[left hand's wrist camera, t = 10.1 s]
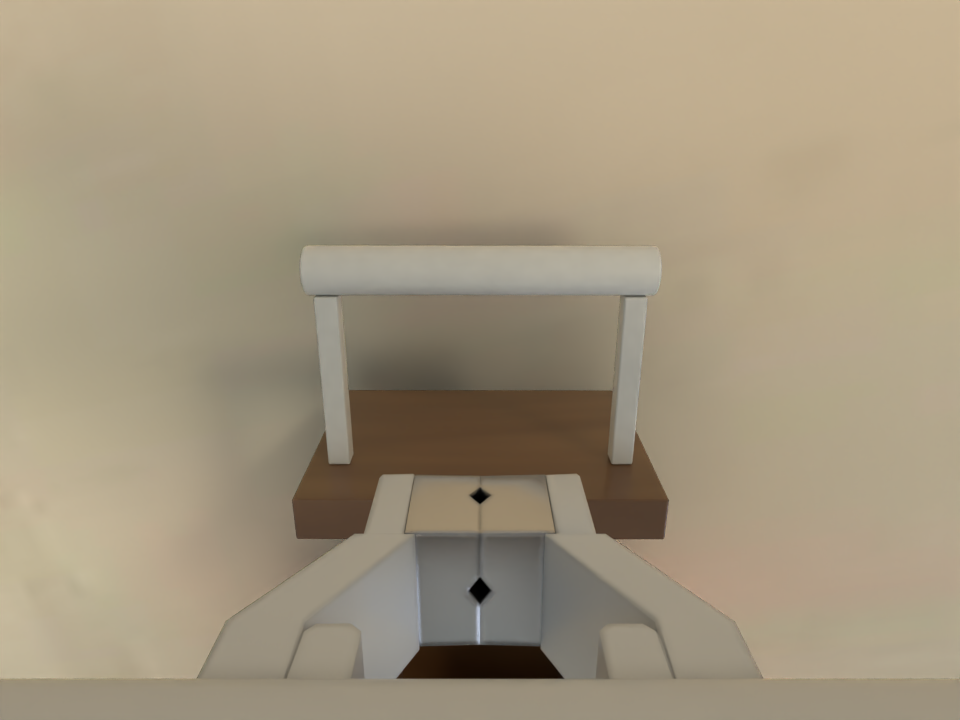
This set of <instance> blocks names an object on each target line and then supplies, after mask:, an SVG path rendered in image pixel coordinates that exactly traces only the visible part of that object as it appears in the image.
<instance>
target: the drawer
mask: <svg viewBox="0 0 960 720" xmlns="http://www.w3.org/2000/svg"><path fill="white" fill-rule="evenodd" d="M661 275H662V260H661V254H660V251H659V249H658V247H656V246H440V245H307V246H305V247H303V249H302V252H301V256H300V279H301V284H302V288H303V290H304V292H305V294H307V295H316V296H315V297H314V310H315V321H316V332H317V343H318V353H319V364H320V375H321V386H322V397H323V407H324V418H325V429H326V430H325V432H324V434H323V436H322V438H321V441H320V443H319V445H318V447H317V449H316V451H315V453H314V455H313V457H312V459H311V462H310V464H309V466H308V468H307V470H306V472H305V474H304V476H303V478H302V480H301V483H300V485H299V487H298V489H297V491H296V493H295V495H294V497H293V499H292V503H293V512H294V520H295V529H296V537H297V538H298V539H348V538H349V537H351V536H352V535H354V534H364V531H365V528H366V524H367V521H368V517H369V514H370V510H371V506H372V503H373V499H374V496H375V492H376V489H377V485H378V481H379V478H380V477H381V476H382V475H383V474H414V475H416V474H418V475H472V476H505V475H556V474H578V475H579V476H580V479H581V482H582V486H583V489H584V493H585V496H586V500H587V503H588V507H589V510H590V514H591V517H592V521H593V524H594V528H595V532H596V534H607V535H608V536H609V537H611V538H612V539H664V537H665V529H666V520H667V512H668V504H669V500H668V498H667V495H666V493H665V491H664V489H663V487H662V485H661V483H660V481H659V479H658V476H657V474H656V472H655V470H654V468H653V466H652V464H651V462H650V460H649V457H648V455H647V453H646V451H645V449H644V447H643V445H642V443H641V441H640V438H639V436H638V434H637V432H636V430H635V429H636V419H637V408H638V398H639V387H640V376H641V366H642V355H643V344H644V334H645V323H646V313H647V302H648V299H647V297H646V296H645V295H655V294H656V293H657V292H658V289H659V286H660V282H661ZM341 295H620V304H619V317H618V329H617V342H616V355H615V367H614V380H613V391H575V390H349V389H348V376H347V363H346V349H345V336H344V323H343V310H342V297H341ZM396 679H564V678H563V676H562V675H561V674H560V673H559V671H558V670H557V669H556V668H555V666H554V665H553V664H552V663H551V661H550V660H549V659H548V658H547V656H546V655H545V654H544V653H543V651H542V650H541V646H510V645H449V646H419V651H418V652H417V653H416V655H415V656H414V657H413V658H412V660H411V661H410V662H409V663H408V664H407V666H406V667H405V668H404V669H403V671H402V672H401V673H400V674H399V676H398V677H397V678H396Z"/></svg>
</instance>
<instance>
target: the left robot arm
mask: <svg viewBox="0 0 960 720" xmlns="http://www.w3.org/2000/svg"><path fill="white" fill-rule="evenodd" d="M449 645H510V646H541V650H542V651H543V653H544V654H545V655H546V656H547V658H548V659H549V660H550V661H551V663H552V664H553V665H554V666H555V668H556V669H557V670H558V671H559V673H560V674H561V675H562V676H563V678H564V679H396V678H397V677H398V676H399V674H400V673H401V672H402V671H403V669H404V668H405V667H406V666H407V664H408V663H409V662H410V661H411V660H412V658H413V657H414V656H415V655H416V653H417V652H418V651H419V646H449ZM0 720H960V679H763V677H762V675H761V673H760V671H759V669H758V667H757V665H756V663H755V661H754V659H753V657H752V655H751V653H750V651H749V649H748V647H747V645H746V643H745V641H744V639H743V637H742V635H741V633H740V631H739V629H738V627H737V625H736V623H735V622H734V621H733V620H731V619H730V618H729V617H727V616H726V615H724V614H723V613H721V612H720V611H718V610H717V609H715V608H714V607H712V606H711V605H709V604H708V603H707V602H705V601H704V600H702V599H701V598H699V597H698V596H696V595H695V594H693V593H692V592H690V591H689V590H687V589H686V588H684V587H683V586H682V585H680V584H679V583H677V582H676V581H674V580H673V579H671V578H670V577H668V576H667V575H665V574H664V573H662V572H661V571H659V570H658V569H657V568H655V567H654V566H652V565H651V564H649V563H648V562H646V561H645V560H643V559H642V558H640V557H639V556H637V555H636V554H634V553H633V552H632V551H630V550H629V549H627V548H626V547H624V546H623V545H621V544H620V543H618V542H617V541H615V540H614V539H612V538H611V537H609V536H608V535H607V534H596V532H595V528H594V524H593V521H592V517H591V514H590V510H589V507H588V503H587V500H586V496H585V493H584V489H583V486H582V482H581V479H580V476H579V475H578V474H556V475H505V476H472V475H418V474H416V475H414V474H383V475H382V476H381V477H380V478H379V481H378V485H377V489H376V492H375V496H374V499H373V503H372V506H371V510H370V514H369V517H368V521H367V524H366V528H365V531H364V534H354V535H352V536H351V537H349V538H348V539H346V540H345V541H343V542H342V543H340V544H339V545H337V546H336V547H334V548H333V549H331V550H330V551H328V552H327V553H325V554H324V555H322V556H321V557H320V558H318V559H317V560H315V561H314V562H312V563H311V564H309V565H308V566H306V567H305V568H303V569H302V570H300V571H299V572H297V573H296V574H294V575H293V576H291V577H290V578H289V579H287V580H286V581H284V582H283V583H281V584H280V585H278V586H277V587H275V588H274V589H272V590H271V591H269V592H268V593H266V594H265V595H263V596H262V597H260V598H259V599H257V600H256V601H255V602H253V603H252V604H250V605H249V606H247V607H246V608H244V609H243V610H241V611H240V612H238V613H237V614H235V615H234V616H232V617H231V618H229V619H228V620H226V622H225V624H224V626H223V628H222V630H221V632H220V634H219V636H218V638H217V640H216V642H215V644H214V646H213V647H212V649H211V651H210V653H209V655H208V657H207V659H206V661H205V663H204V665H203V667H202V669H201V671H200V673H199V675H198V677H197V679H0Z"/></svg>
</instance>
